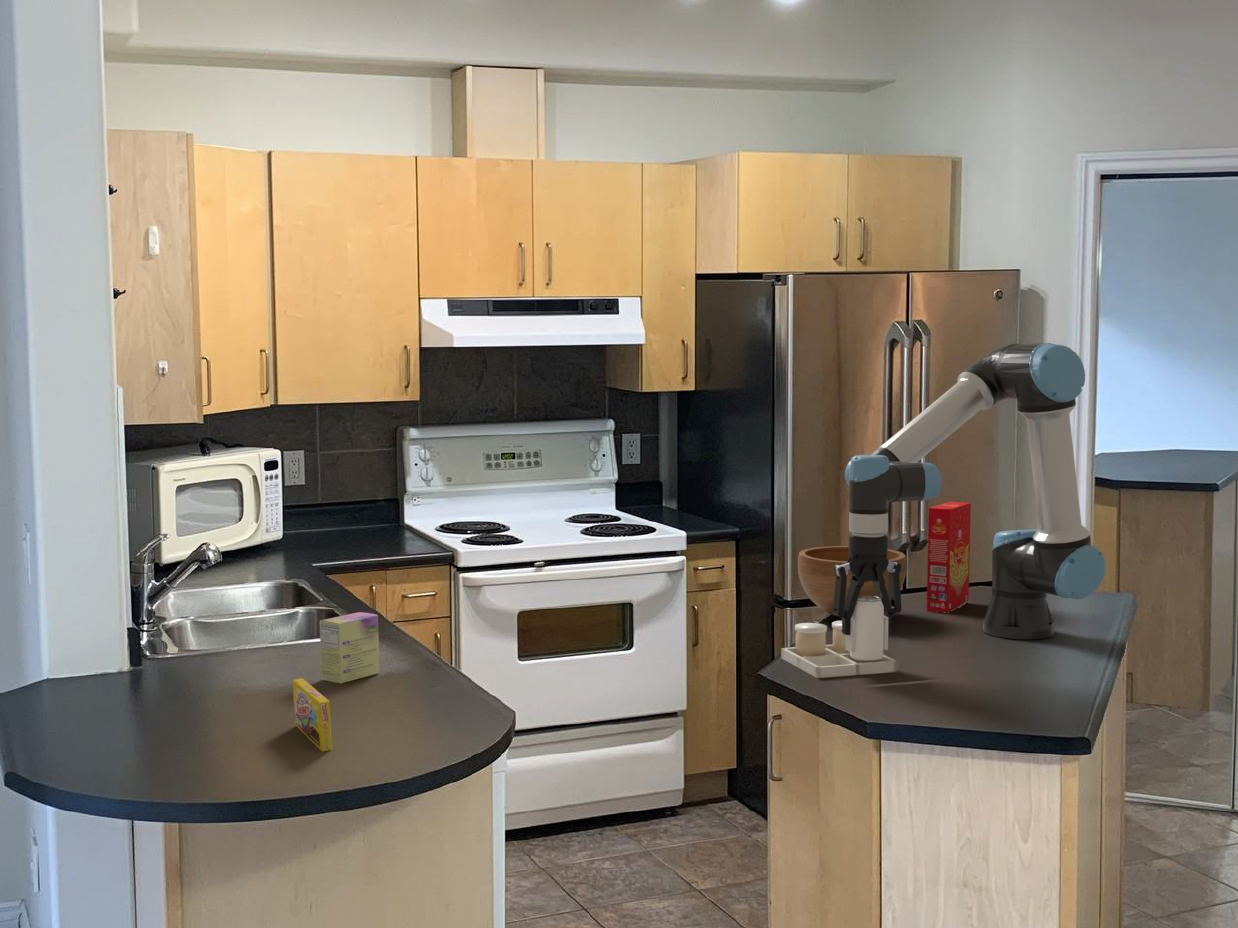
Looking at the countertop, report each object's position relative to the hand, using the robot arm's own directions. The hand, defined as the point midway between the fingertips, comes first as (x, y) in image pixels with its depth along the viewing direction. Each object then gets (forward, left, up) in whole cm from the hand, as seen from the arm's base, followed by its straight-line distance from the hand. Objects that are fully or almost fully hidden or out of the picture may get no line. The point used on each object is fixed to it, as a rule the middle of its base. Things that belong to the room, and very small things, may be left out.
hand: (866, 649), depth 268 cm
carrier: (+4, -4, -4) cm, 7 cm away
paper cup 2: (0, -8, -4) cm, 9 cm away
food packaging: (-48, -51, -4) cm, 70 cm away
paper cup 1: (+8, -8, -4) cm, 12 cm away
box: (+98, -25, -4) cm, 101 cm away
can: (0, 0, -2) cm, 2 cm away
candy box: (+108, +14, -4) cm, 109 cm away
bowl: (-20, -47, -4) cm, 51 cm away
